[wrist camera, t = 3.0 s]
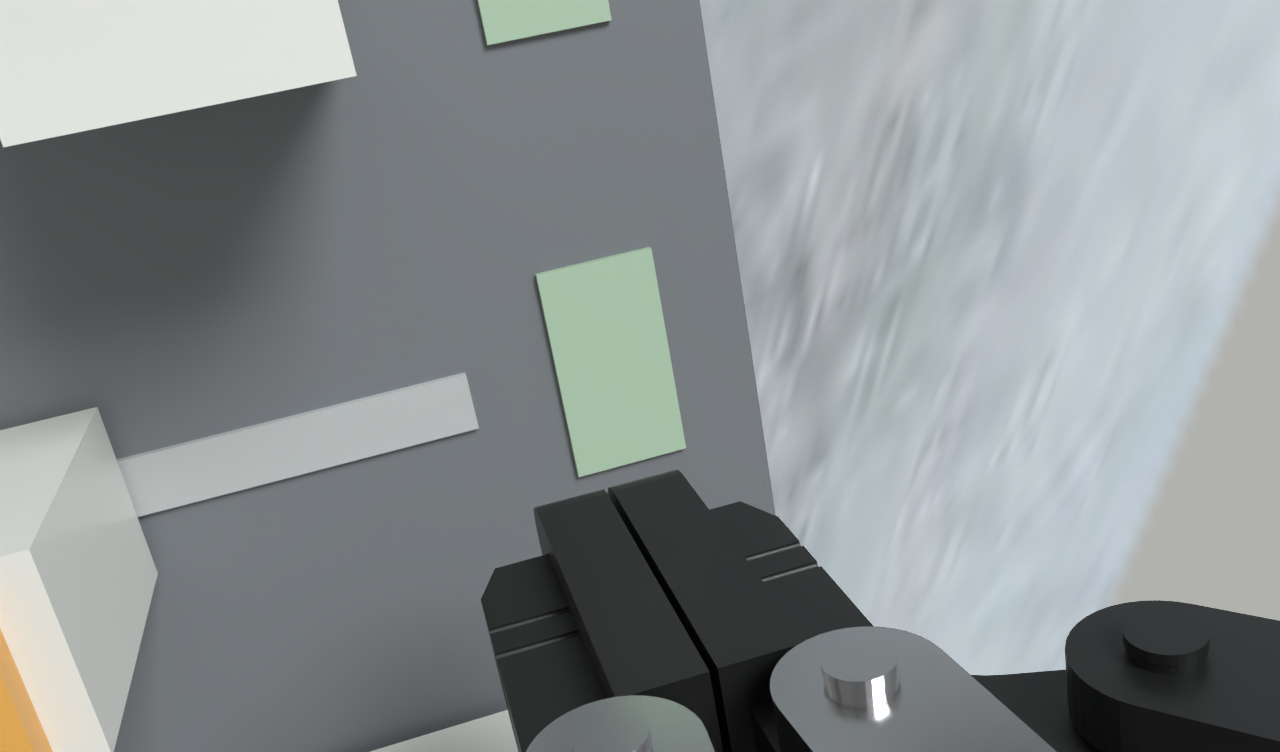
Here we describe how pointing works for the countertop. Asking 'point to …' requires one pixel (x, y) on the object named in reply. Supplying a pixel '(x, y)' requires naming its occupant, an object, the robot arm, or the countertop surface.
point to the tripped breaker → (67, 586)
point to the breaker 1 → (155, 58)
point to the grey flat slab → (383, 348)
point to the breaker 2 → (464, 737)
